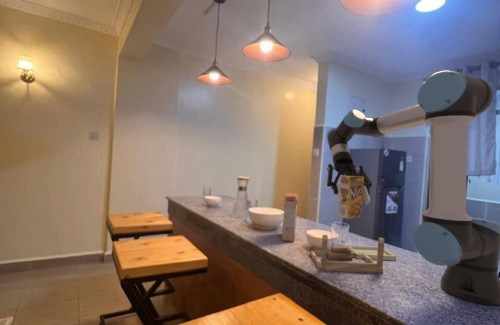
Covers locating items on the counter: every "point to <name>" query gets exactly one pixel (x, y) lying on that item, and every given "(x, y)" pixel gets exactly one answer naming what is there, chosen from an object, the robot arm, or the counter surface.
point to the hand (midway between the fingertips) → (354, 201)
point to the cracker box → (289, 217)
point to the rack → (346, 254)
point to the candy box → (351, 196)
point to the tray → (370, 252)
